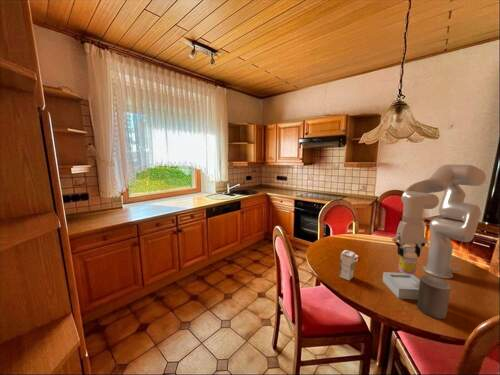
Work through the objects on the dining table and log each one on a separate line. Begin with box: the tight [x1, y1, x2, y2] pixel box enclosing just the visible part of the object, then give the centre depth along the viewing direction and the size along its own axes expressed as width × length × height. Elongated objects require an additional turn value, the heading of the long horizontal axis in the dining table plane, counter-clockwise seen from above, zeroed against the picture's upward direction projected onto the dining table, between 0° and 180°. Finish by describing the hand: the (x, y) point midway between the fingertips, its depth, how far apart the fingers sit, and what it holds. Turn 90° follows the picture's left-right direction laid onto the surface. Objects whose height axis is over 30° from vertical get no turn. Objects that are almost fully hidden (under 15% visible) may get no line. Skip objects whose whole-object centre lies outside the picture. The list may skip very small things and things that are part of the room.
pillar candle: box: [416, 274, 451, 320], centre depth 88 cm, size 10×10×15 cm
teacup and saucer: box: [355, 254, 359, 262], centre depth 135 cm, size 9×8×4 cm
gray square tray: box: [382, 271, 420, 301], centre depth 102 cm, size 14×14×5 cm
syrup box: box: [338, 249, 356, 281], centre depth 113 cm, size 6×6×14 cm
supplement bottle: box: [398, 244, 418, 276], centre depth 100 cm, size 7×7×13 cm
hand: (408, 255), depth 100 cm, fingers closed on supplement bottle, 6 cm apart
